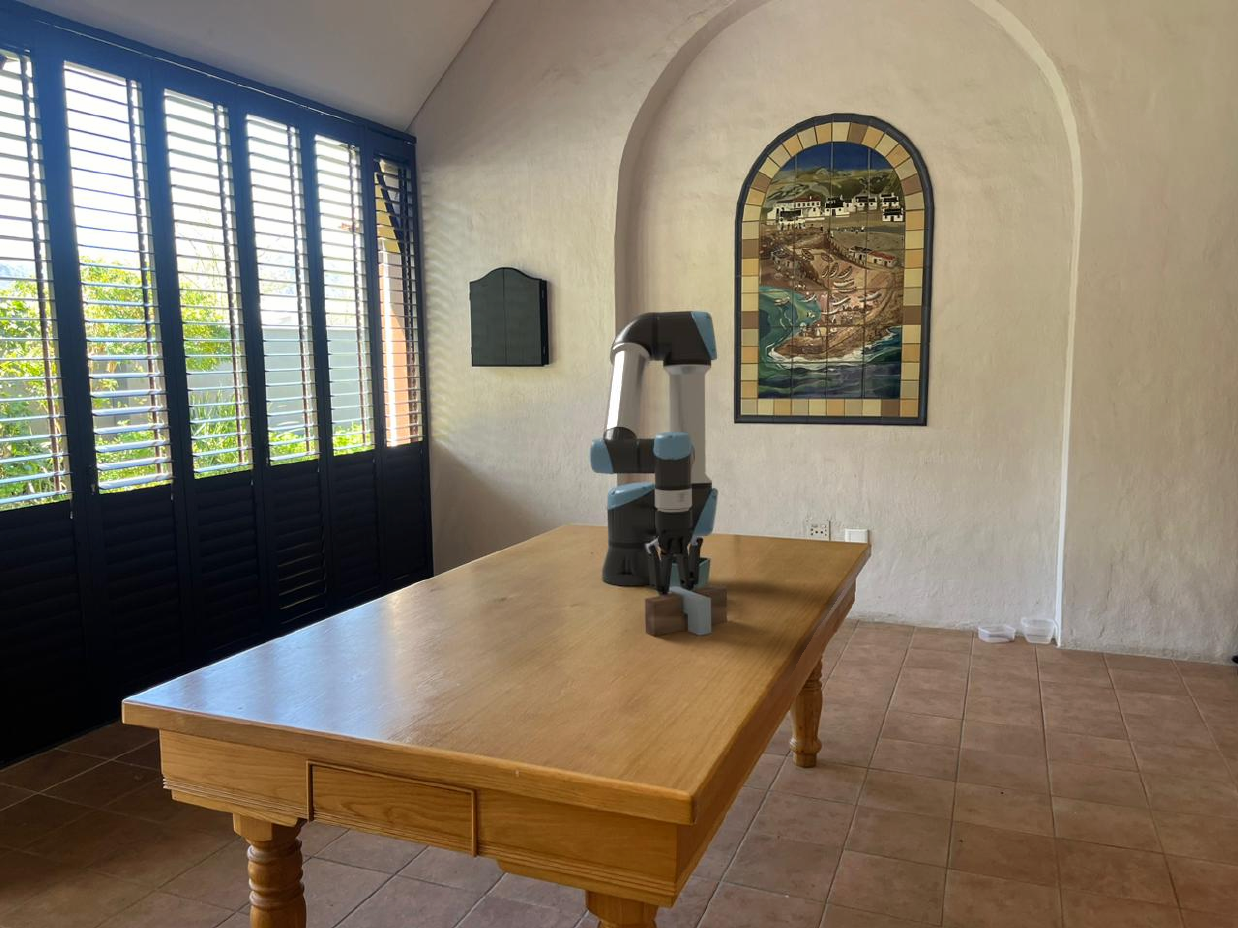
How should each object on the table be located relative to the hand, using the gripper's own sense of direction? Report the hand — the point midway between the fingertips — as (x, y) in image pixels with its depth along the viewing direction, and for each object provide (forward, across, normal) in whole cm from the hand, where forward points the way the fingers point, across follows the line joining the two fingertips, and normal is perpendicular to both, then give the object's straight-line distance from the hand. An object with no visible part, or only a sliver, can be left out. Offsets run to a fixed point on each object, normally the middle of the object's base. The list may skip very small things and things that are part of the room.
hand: (675, 620), depth 193 cm
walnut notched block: (0, 0, -4) cm, 4 cm away
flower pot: (0, +12, +13) cm, 18 cm away
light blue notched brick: (0, 0, -4) cm, 4 cm away
